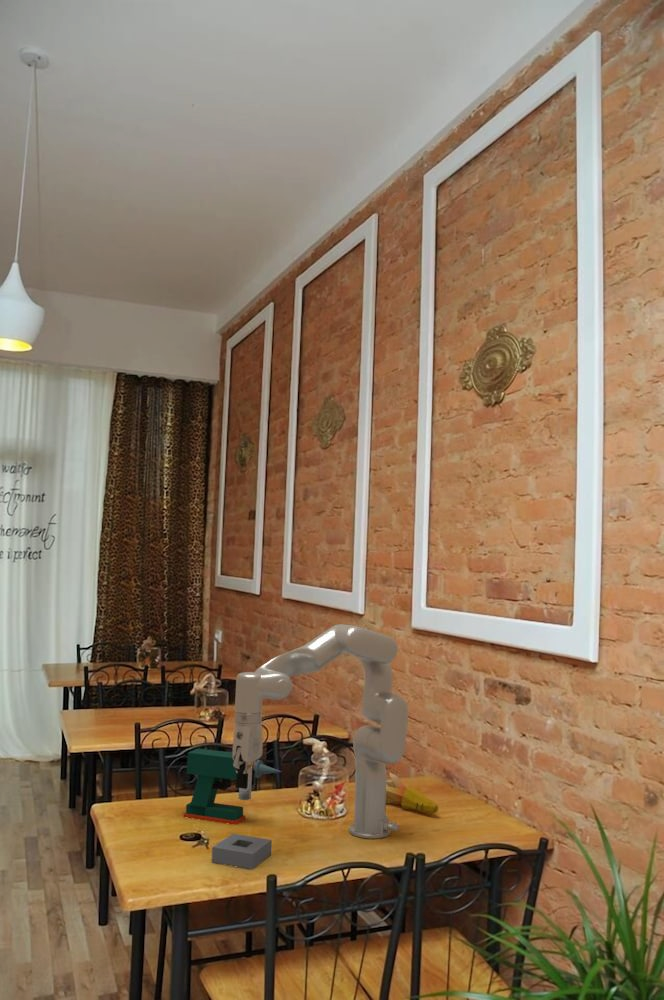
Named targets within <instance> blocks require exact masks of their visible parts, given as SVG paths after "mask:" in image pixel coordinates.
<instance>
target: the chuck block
mask: <svg viewBox="0 0 664 1000" xmlns="http://www.w3.org/2000/svg"><path fill="white" fill-rule="evenodd" d="M272 842H273V840H272V839H268V838H262V837H258V836H257V837H255V836H250V835H243V834H236V833H232V834H230V835H228V836H227V837H226V838H224V839H223V840H221V841H219V842H218V843H216V844H215V845H213V846H212V849H211V863H212V862H213V863H212V864H217V863H218V864H217V865H223V864H226V865H225V866H229V865H232V866H231V867H234V866H237V867H236V868H240V867H241V869H246V870H250V871H251V870H253V869H255V868H256V867H257V866H259V865H260V864H261V863H263V862H264V861H265V860H267V859H268V858H269V857H270V856H271V855H272V845H273V844H272ZM262 861H263V862H262ZM258 864H259V865H258Z"/></svg>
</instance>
